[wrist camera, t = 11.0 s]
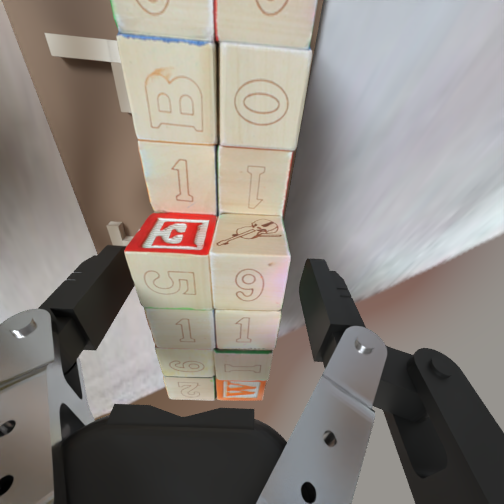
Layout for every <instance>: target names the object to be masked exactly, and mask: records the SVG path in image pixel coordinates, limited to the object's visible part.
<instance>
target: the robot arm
mask: <svg viewBox="0 0 504 504" xmlns="http://www.w3.org/2000/svg"><path fill="white" fill-rule="evenodd" d="M126 247H127V246H118V245H107V246H106V247H105V248H104V249H103V250H102V251H101V252H100V253H99V254H98V255H97V256H95V255H94V256H93V257H91V258H89V259H88V260H86V261H84V262H82V263H81V264H80V265H79V266H78V268H77V269H76V270H75V271H74V273H72V274H71V275H70V276H69V277H68V278H67V281H66V280H65V281H64V282H63V283H62V284H61V285H60V286H59V287H58V288H57V289H56V290H55V291H54V292H53V293H52V295H51V296H50V297H49V298H48V299H47V300H46V301H45V302H44V303H43V304H42V305H41V306H40V307H39V308H38V309H31V310H27V311H23V312H20V313H18V314H16V315H14V316H12V317H10V318H8V319H7V320H5V321H4V322H3V323H1V324H0V504H351V503H352V500H353V496H354V492H355V489H356V485H357V481H358V477H359V474H360V471H361V467H362V463H363V460H364V456H365V453H366V449H367V445H368V442H369V438H370V434H371V431H372V427H373V423H374V419H375V411H374V410H372V406H374V407H377V408H379V409H382V410H383V412H384V414H385V417H386V420H387V423H388V426H389V429H390V432H391V435H392V437H393V440H394V443H395V446H396V449H397V452H398V455H399V458H400V461H401V463H402V466H403V469H404V472H405V475H406V478H407V480H408V483H409V486H410V489H411V492H412V495H413V498H414V501H415V504H504V433H503V431H502V430H501V428H500V427H499V425H498V424H497V423H496V421H495V420H494V418H493V417H492V415H491V414H490V412H489V411H488V409H487V408H486V406H485V405H484V403H483V402H482V400H481V399H480V397H479V396H478V394H477V393H476V392H475V390H474V388H473V387H472V386H471V384H470V382H469V381H468V380H467V378H466V376H465V375H464V374H463V372H462V371H461V369H460V368H459V367H458V366H457V365H456V364H455V363H454V362H453V361H452V360H451V359H450V358H448V357H447V356H445V355H444V354H442V353H440V352H438V351H436V350H432V349H428V348H422V349H419V350H417V351H416V352H415V354H414V355H411V354H408V353H405V352H402V351H399V350H396V349H393V348H390V347H388V346H386V345H385V344H384V342H383V341H382V339H381V338H380V337H379V336H378V335H377V334H376V333H374V332H373V331H371V330H369V329H367V328H366V327H365V325H364V323H363V320H362V318H361V316H360V314H359V312H358V310H357V307H356V305H355V303H354V301H353V299H352V298H351V295H350V292H349V290H348V288H347V286H346V284H345V282H344V280H343V279H342V278H341V277H340V276H339V275H338V274H337V273H336V272H335V271H329V268H328V266H327V264H326V261H325V260H323V259H307V260H306V263H305V266H304V270H303V274H302V277H301V281H300V286H299V295H300V300H301V305H302V309H303V314H304V318H305V323H306V327H307V332H308V336H309V341H310V345H311V350H312V354H313V358H314V361H317V362H323V363H324V367H325V371H324V372H323V374H322V376H321V378H320V380H319V382H318V384H317V386H316V388H315V390H314V392H313V394H312V396H311V398H310V400H309V402H308V404H307V405H306V407H305V409H304V411H303V413H302V415H301V417H300V419H299V421H298V423H297V425H296V427H295V429H294V431H293V433H292V435H291V437H290V439H289V440H288V442H286V441H285V439H284V438H283V437H282V436H281V435H279V434H278V432H276V431H275V430H274V429H273V428H271V427H270V426H268V425H267V424H265V423H263V422H261V421H259V420H256V419H254V409H236V408H218V409H214V410H211V411H207V412H203V413H199V414H195V415H191V416H187V417H180V416H177V415H175V414H172V413H169V412H166V411H164V410H161V409H158V408H156V407H153V406H150V405H128V404H114V407H113V409H112V411H111V414H110V415H109V416H106V417H103V418H100V419H98V420H96V421H94V418H93V415H92V413H91V411H90V408H89V405H88V401H87V395H86V390H85V384H84V378H83V373H82V367H81V361H80V359H79V355H80V354H81V352H82V351H83V350H96V349H97V348H98V346H99V344H100V343H101V341H102V339H103V338H104V336H105V334H106V333H107V331H108V329H109V328H110V326H111V324H112V322H113V321H114V319H115V317H116V316H117V314H118V312H119V311H120V309H121V307H122V306H123V304H124V302H125V301H126V299H127V297H128V295H129V294H130V292H131V290H132V289H133V287H134V285H135V284H134V281H133V278H132V275H131V272H130V269H129V266H128V263H127V260H126V257H125V253H124V250H125V248H126Z"/></svg>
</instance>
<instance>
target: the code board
mask: <svg viewBox="0 0 504 504" xmlns="http://www.w3.org/2000/svg"><path fill="white" fill-rule="evenodd" d="M2 2H3V5H4V7H5V10H6V12H7V15H8V18H9V20H10V23H11V26H12V28H13V31H14V34H15V36H16V39H17V42H18V44H19V47H20V50H21V52H22V55H23V58H24V60H25V63H26V65H27V68H28V71H29V73H30V76H31V79H32V81H33V84H34V87H35V89H36V92H37V95H38V97H39V100H40V103H41V105H42V108H43V111H44V113H45V116H46V118H47V121H48V124H49V126H50V129H51V132H52V134H53V137H54V140H55V142H56V145H57V148H58V150H59V153H60V156H61V158H62V161H63V164H64V166H65V169H66V171H67V174H68V177H69V179H70V182H71V185H72V187H73V190H74V193H75V195H76V198H77V201H78V203H79V206H80V209H81V211H82V214H83V217H84V219H85V222H86V224H87V227H88V230H89V232H90V235H91V238H92V240H93V243H94V246H95V248H96V251H97V254H99V253H100V252H101V251H102V250H103V249H104V248H105V247H106V246H107V245H118V246H127V245H128V244H129V242H130V241H131V240H132V238H133V237H134V236H135V234H136V233H137V231H138V230H139V229H140V228H141V227H142V225H143V224H144V222H145V220H146V219H147V218H148V217H149V215H151V214H152V213H154V210H153V208H152V205H151V203H150V200H149V195H148V191H147V186H146V182H145V178H144V174H143V169H142V164H141V159H140V154H139V150H138V138H137V136H136V133H135V128H134V123H133V117H132V112H131V108H130V103H129V99H128V94H127V90H126V85H125V80H124V75H123V70H122V65H121V60H120V55H119V51H118V45H117V38H116V36H117V34H118V32H119V31H118V28H117V26H116V23H115V20H114V17H113V12H112V7H111V3H110V0H2ZM322 5H323V0H318V3H317V9H316V15H315V21H314V27H313V32H312V38H311V43H310V48H311V50H312V54H313V55H314V50H315V44H316V38H317V33H318V27H319V22H320V16H321V10H322ZM313 55H312V61H313ZM312 61H311V66H312ZM310 72H311V67H310ZM309 77H310V73H309ZM308 83H309V79H308ZM307 89H308V86H307ZM306 94H307V92H306ZM305 100H306V98H305ZM304 105H305V104H304ZM303 111H304V110H303ZM302 116H303V115H302ZM301 122H302V121H301ZM300 128H301V126H300ZM299 133H300V132H299ZM298 139H299V137H298ZM297 144H298V143H297ZM296 150H297V148H296V149H295V151H294V152H293V159H292V165H291V171H290V177H289V183H288V189H287V195H286V201H285V207H284V213H283V217H282V218H283V222H284V217H285V211H286V206H287V200H288V194H289V189H290V183H291V178H292V172H293V167H294V161H295V155H296ZM134 286H135V285H134Z"/></svg>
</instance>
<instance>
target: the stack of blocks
mask: <svg viewBox="0 0 504 504" xmlns="http://www.w3.org/2000/svg"><path fill="white" fill-rule="evenodd" d="M110 3H111V7H112V12H113V17H114V20H115V23H116V26H117V28H118V31H119V32H118V34H117V36H116V38H117V45H118V51H119V55H120V60H121V65H122V70H123V75H124V80H125V85H126V90H127V94H128V99H129V103H130V108H131V112H132V117H133V123H134V128H135V133H136V136H137V138H138V150H139V154H140V159H141V164H142V169H143V174H144V178H145V182H146V186H147V191H148V195H149V200H150V203H151V205H152V208H153V210H154V213H152V214H151V215H149V217H148V218H147V219H146V220H145V222H144V224H143V225H142V227H141V228H140V229H139V230H138V231H137V233H136V234H135V236H134V237H133V238H132V240H131V241H130V242H129V244H128V245H127V247H126V248H125V250H124V253H125V257H126V260H127V263H128V266H129V269H130V272H131V275H132V278H133V281H134V284H135V287H136V291H137V294H138V297H139V300H140V303H141V305H142V306H143V307H144V310H145V314H146V318H147V321H148V324H149V327H150V330H151V332H152V337H153V340H154V343H155V350H156V354H157V357H158V360H159V364H160V367H161V370H162V373H163V375H164V376H163V379H164V383H165V386H166V389H167V393H168V397H169V398H170V399H182V400H183V399H184V400H215V398H216V397H217V399H218V400H239V401H240V400H242V401H243V400H244V401H245V400H246V401H249V400H250V401H251V400H253V401H254V400H255V401H256V400H263V397H264V392H265V387H266V382H267V380H268V379H269V373H270V368H271V362H272V356H273V352H272V351H273V349H274V348H275V347H276V343H277V337H278V332H279V326H280V321H281V309H282V306H283V301H284V295H285V290H286V285H287V280H288V274H289V268H290V263H291V254H290V249H289V245H288V240H287V236H286V231H285V226H284V222H283V218H282V217H283V213H284V207H285V201H286V195H287V189H288V183H289V177H290V171H291V165H292V159H293V152H294V151H295V149H296V148H297V143H298V137H299V132H300V126H301V121H302V115H303V110H304V104H305V98H306V92H307V86H308V79H309V73H310V67H311V61H312V55H313V54H312V50H311V48H310V43H311V38H312V32H313V27H314V21H315V15H316V9H317V3H318V0H110Z"/></svg>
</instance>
